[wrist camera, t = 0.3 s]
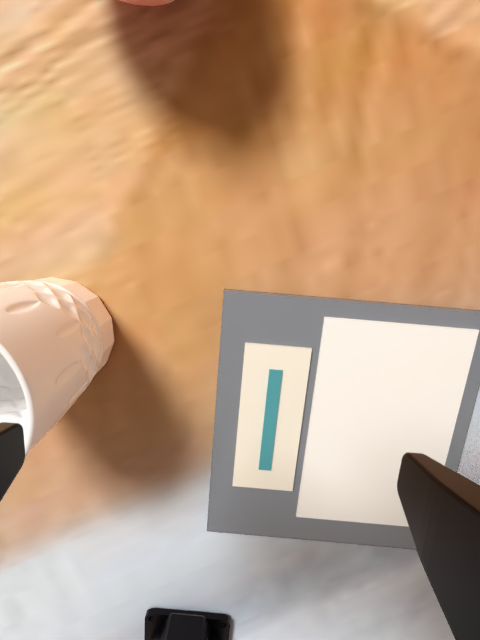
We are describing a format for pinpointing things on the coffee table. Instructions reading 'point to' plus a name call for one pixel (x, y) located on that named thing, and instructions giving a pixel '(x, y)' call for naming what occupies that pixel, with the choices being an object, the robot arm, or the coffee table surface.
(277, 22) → the coffee table surface
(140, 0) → the decorative fruit
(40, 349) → the white cup
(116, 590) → the coffee table surface
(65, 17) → the coffee table surface
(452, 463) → the drawing board
